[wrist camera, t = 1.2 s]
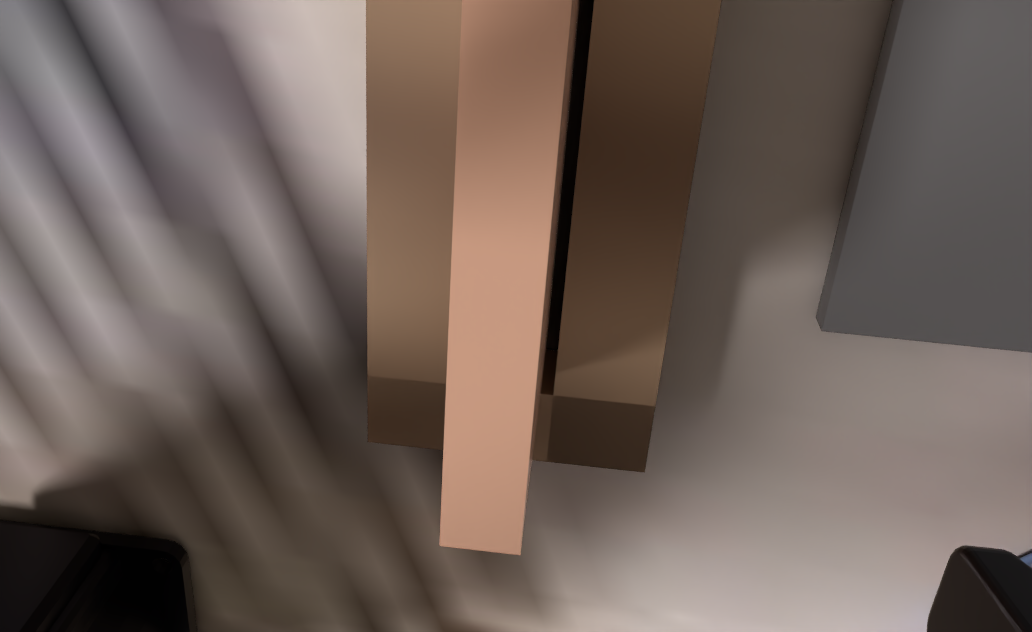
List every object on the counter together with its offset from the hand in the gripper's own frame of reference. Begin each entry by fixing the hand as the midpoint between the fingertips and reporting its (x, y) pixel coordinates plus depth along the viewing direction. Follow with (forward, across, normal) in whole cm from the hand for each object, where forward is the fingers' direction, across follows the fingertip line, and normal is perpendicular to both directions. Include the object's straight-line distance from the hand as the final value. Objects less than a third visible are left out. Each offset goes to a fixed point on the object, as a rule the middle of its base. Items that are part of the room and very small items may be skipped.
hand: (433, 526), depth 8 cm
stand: (+11, 0, 0) cm, 11 cm away
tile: (+11, 0, 0) cm, 11 cm away
